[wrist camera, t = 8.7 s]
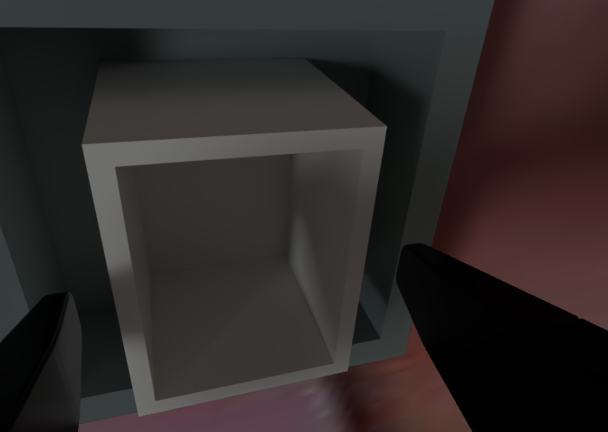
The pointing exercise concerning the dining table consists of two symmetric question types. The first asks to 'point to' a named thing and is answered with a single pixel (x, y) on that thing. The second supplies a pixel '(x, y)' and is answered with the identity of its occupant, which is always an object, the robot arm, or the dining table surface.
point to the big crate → (219, 45)
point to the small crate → (230, 221)
